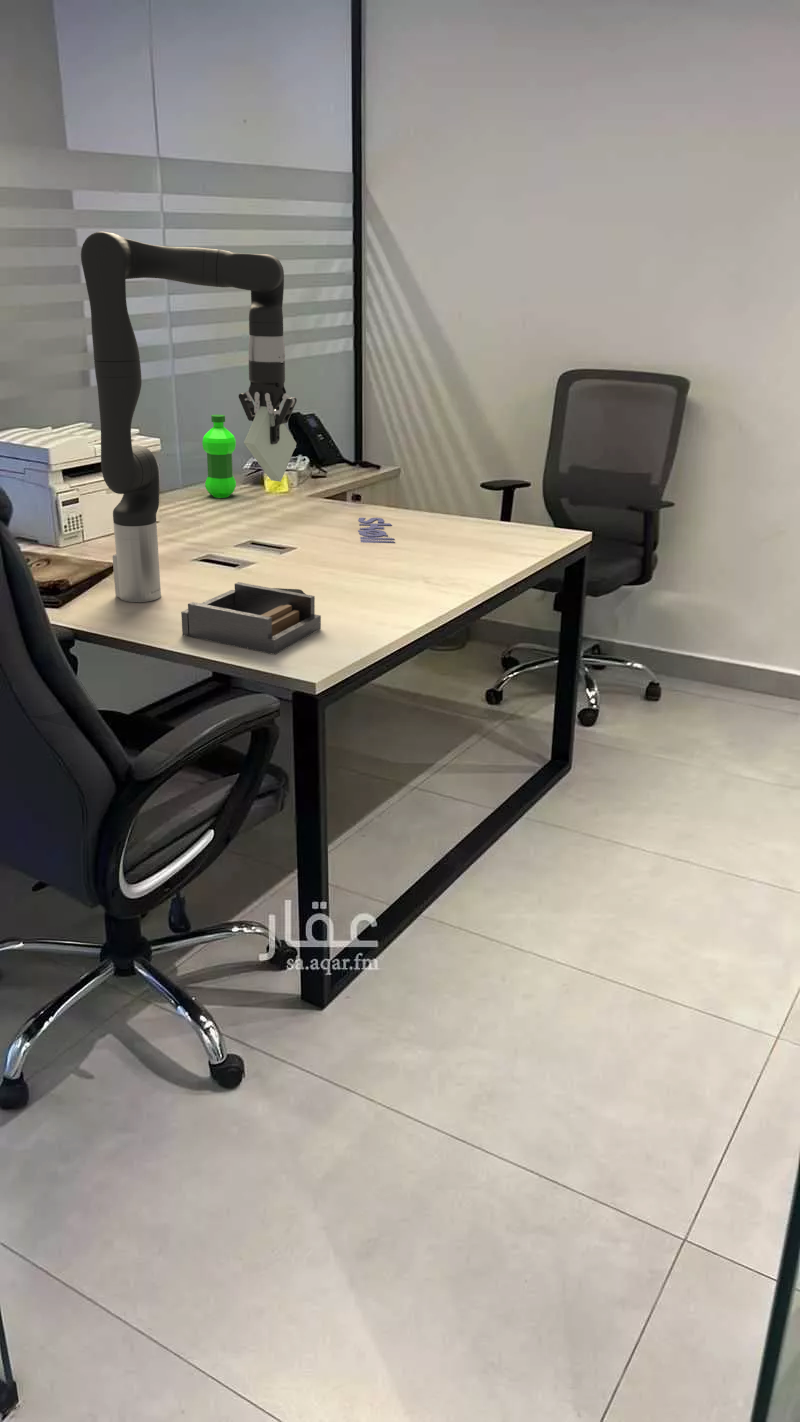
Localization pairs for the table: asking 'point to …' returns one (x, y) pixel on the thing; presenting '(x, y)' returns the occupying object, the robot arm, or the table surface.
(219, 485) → the plastic bottle
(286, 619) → the offcut stack
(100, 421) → the robot arm
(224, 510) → the table surface
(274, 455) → the pale green flat block
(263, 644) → the tray
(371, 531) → the signage
